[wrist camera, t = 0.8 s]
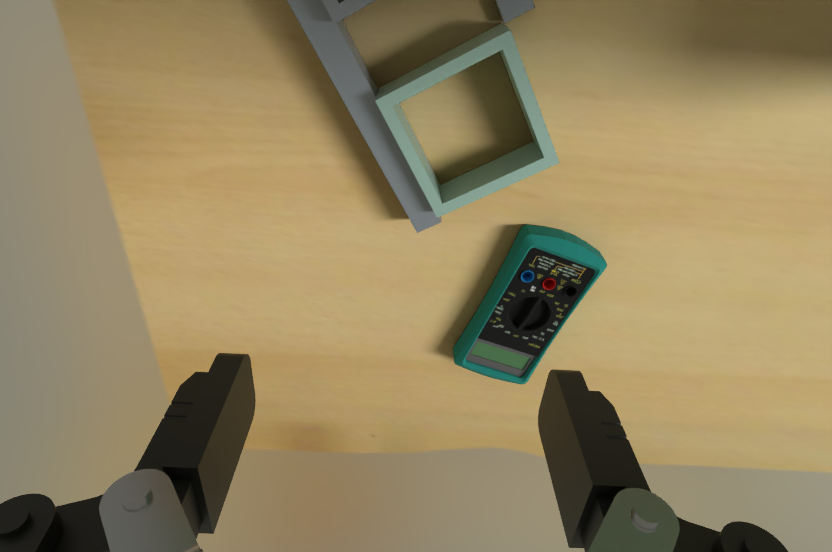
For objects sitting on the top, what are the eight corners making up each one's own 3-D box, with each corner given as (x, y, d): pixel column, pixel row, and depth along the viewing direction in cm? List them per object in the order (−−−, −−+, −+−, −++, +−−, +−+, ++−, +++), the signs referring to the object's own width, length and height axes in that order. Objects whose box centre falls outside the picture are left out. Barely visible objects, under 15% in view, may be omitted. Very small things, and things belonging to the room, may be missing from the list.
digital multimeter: (604, 243, 43) (616, 262, 40) (519, 370, 50) (525, 392, 48) (525, 213, 42) (532, 230, 39) (449, 348, 49) (451, 369, 46)
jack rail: (429, -294, 26) (431, -325, 23) (579, 145, 38) (593, 161, 35) (217, -143, 29) (195, -153, 26) (417, 218, 41) (417, 239, 38)
